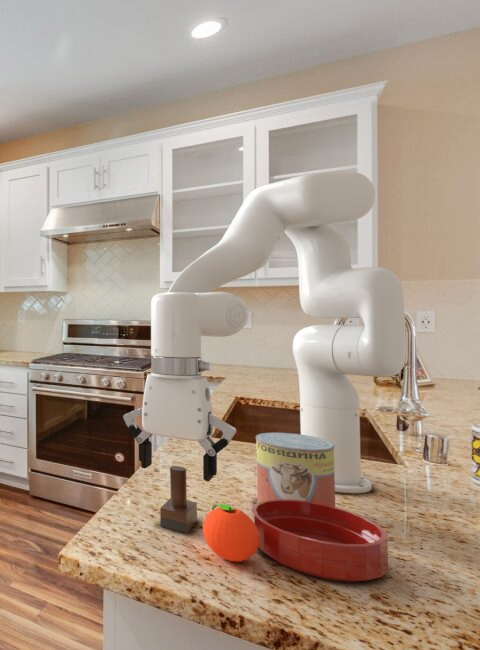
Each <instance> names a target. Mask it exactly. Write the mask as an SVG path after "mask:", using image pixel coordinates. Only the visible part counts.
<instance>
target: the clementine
mask: <svg viewBox="0 0 480 650" xmlns="http://www.w3.org/2000/svg"><path fill="white" fill-rule="evenodd" d="M202 533H203V537H204V540H205V543H206V544H207V546H208V547H209V548H210V549H211V551H212V552H213V553H215V554H216V555H217V556H219V557H220V558H222V559H224V560H226V561H231V562H243V561H247V560H250V559H251V558H252V556H254V555H255V554H256V553H257V550H258V549H259V548H258V545H259V533H258V530H257V528H256V526H255V524H254V522H253V521H252V518H250V516H249V515H247V514H246V513H244V512H243V511H242V510H241V509H238V508H235V507H232V506H231V505H228V504H224V503H222V504H220V503H219V504H213V506H212V508H211V510H210V511H209V512H208V513H207V514H206V515H205V518H204V520H203V524H202Z"/></svg>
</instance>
